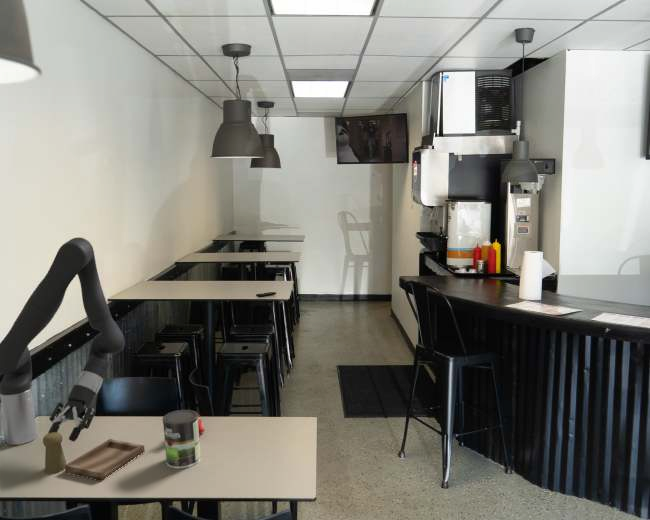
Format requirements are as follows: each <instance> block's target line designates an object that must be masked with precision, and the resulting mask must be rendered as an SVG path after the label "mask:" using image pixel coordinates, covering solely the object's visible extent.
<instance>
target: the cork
mask: <svg viewBox="0 0 650 520" xmlns="http://www.w3.org/2000/svg"><path fill="white" fill-rule="evenodd" d="M62 441H63V436H62V434H61V433H60V432H59V431H57V432H52V433H49V434H48V433H46V434H45V435H44V436H43V438H42V443H43V446H44V447H45V454H44V455H45V458H44V460H45V461H44V463H45V464H44V465H45V466H44V472H45V473H46V474H48V475H53V474H59V473H61V472H63V471H65V470H64V469H65V465H66V464H67V461H66V458H65V454H64V450H63V446H62ZM60 471H61V472H60ZM58 472H59V473H58Z"/></svg>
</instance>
